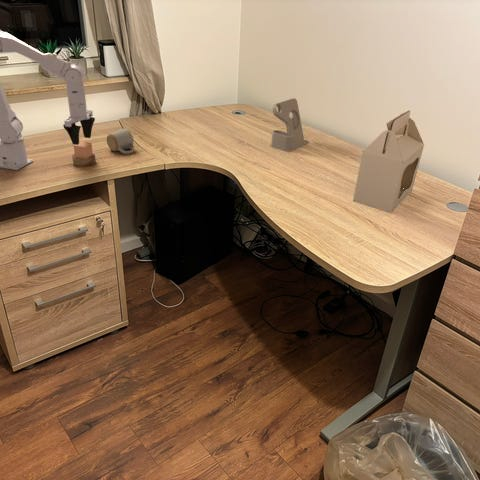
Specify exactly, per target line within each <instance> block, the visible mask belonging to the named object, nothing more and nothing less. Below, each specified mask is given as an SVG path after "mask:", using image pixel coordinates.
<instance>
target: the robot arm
mask: <svg viewBox="0 0 480 480" xmlns="http://www.w3.org/2000/svg"><path fill="white" fill-rule="evenodd" d="M1 51H2V53H10V52H15V53H17V54H18V55H21V56H23V57H26V58H28V59H30V60H31V61H34V62H36V63H39V65H40V66H41V69H42V70H44V71H46V72H48V73H49V74H52V75H53V76H56V77H57V78H60V79H63V81H64V82H65V83H66V94H67V101H68V108H69V109H68V110H69V115H68V116H67V118H66V119H65V120H63V122H64V124H63V125H62V126H63V128H64V129H65V131H66V133H67V134H68V136H69V138H70V140H71V143H72V145H78V144H79V142H80V131H81V129H82V133H83V137H84V138H85V139H91V136H92V130H93V126H94V123H95V121H96V118H95V117H93V116H94V115H93V113H94V112H93V110H91V109H88V108H87V99H86V93H85V92H86V91H85V85H84V80H83V79H84V75H85V74H84V71H83V68H82V67H81V66H79V64H77V63H72V62H71V61H66V60H64V59H62V58H61V57H58V54H57V53H56V52H53V53H51V52H47V53H43V52H41V51H39V50H38V49H36V48H35V47H32V46H31V45H30V44H29V45H28V44H27V43H26V42H24V41H22V40H20V39H18V38H17V37H15V36H14V35H12V34H10V33H8V32H7V31H2V29H0V52H1ZM79 122H80V125H81V126H80V125H77V123H79ZM23 130H24V125H23V122H22V121H21V120H20V119H19V118H18V117H17V115H16V112H14V111H13V110H12V108H11V105H10V103H9V101H8V97H7V95H6V92H5V90H4V87H3V86H2V83H1V81H0V168H3V169H9V170H14V171H17V170H19V169H21V168H23V167H25V166H27V165H29V164H31V163H33V162H34V159H32V158H28V155H27V151H26V145H25V139H24V136H23V134H22V132H23Z"/></svg>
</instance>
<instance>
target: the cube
mask: <svg viewBox="0 0 480 480" xmlns="http://www.w3.org/2000/svg"><path fill="white" fill-rule="evenodd" d="M73 150H74V151H73V152H74V154H75V157H77V158H84V159H87V158H89V157H90V156H92V155H93V153H94V152H93V146H92V142H87V141H80V140H79V144H78V145H75V144H73Z"/></svg>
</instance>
